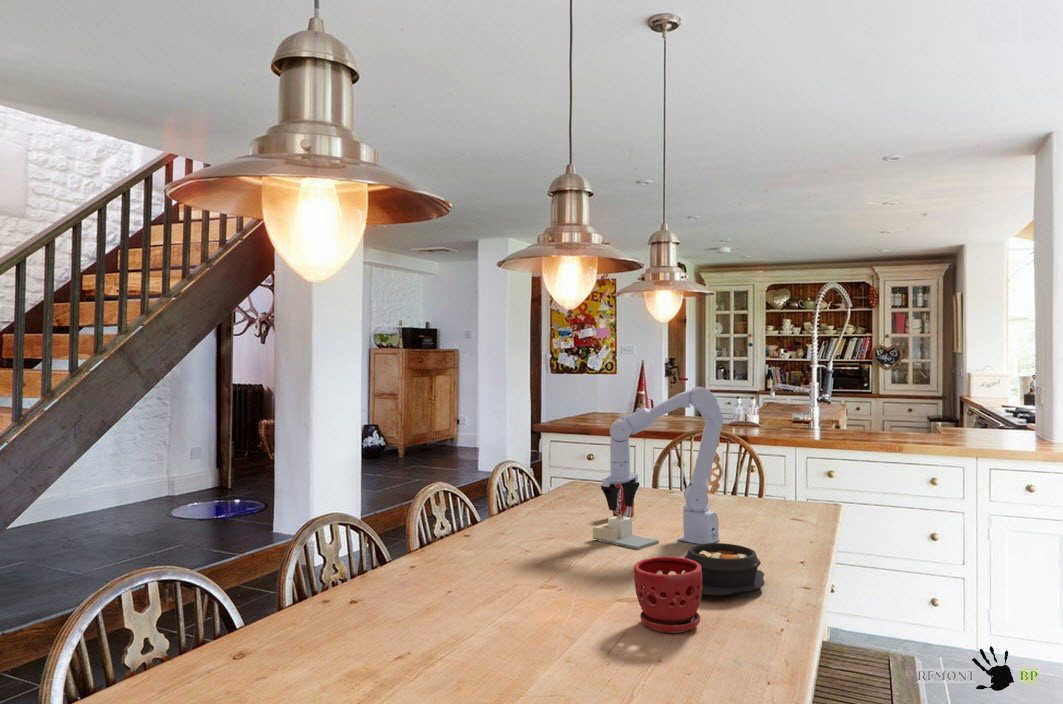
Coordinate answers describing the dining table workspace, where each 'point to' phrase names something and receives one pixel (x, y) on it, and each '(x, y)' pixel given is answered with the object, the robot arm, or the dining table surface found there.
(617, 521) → the cabinet block
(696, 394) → the robot arm
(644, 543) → the board
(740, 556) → the casserole
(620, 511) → the soda can
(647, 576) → the plant pot
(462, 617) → the dining table surface
